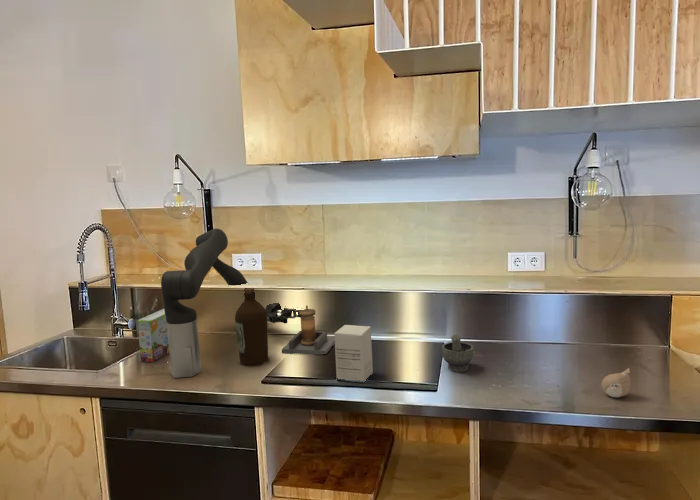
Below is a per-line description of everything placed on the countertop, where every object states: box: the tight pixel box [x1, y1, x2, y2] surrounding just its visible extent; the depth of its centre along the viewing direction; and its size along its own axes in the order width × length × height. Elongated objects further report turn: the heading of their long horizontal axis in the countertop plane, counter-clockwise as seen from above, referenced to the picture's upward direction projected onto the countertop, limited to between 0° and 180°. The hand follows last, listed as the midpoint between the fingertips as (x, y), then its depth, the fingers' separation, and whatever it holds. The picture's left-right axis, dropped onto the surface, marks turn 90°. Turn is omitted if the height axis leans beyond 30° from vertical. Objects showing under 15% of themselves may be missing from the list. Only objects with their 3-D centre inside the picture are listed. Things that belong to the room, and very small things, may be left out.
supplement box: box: [333, 324, 374, 381], centre depth 154 cm, size 9×9×15 cm
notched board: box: [281, 330, 335, 355], centre depth 184 cm, size 16×14×4 cm
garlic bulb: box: [600, 367, 632, 398], centre depth 134 cm, size 7×6×8 cm
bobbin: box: [299, 305, 316, 346], centre depth 183 cm, size 6×6×14 cm
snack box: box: [137, 308, 169, 363], centre depth 185 cm, size 21×6×15 cm, turn 168°
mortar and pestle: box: [441, 334, 475, 373], centre depth 157 cm, size 11×9×12 cm
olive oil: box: [234, 287, 269, 367], centre depth 171 cm, size 11×11×25 cm
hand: (296, 318), depth 188 cm, fingers open, 8 cm apart
